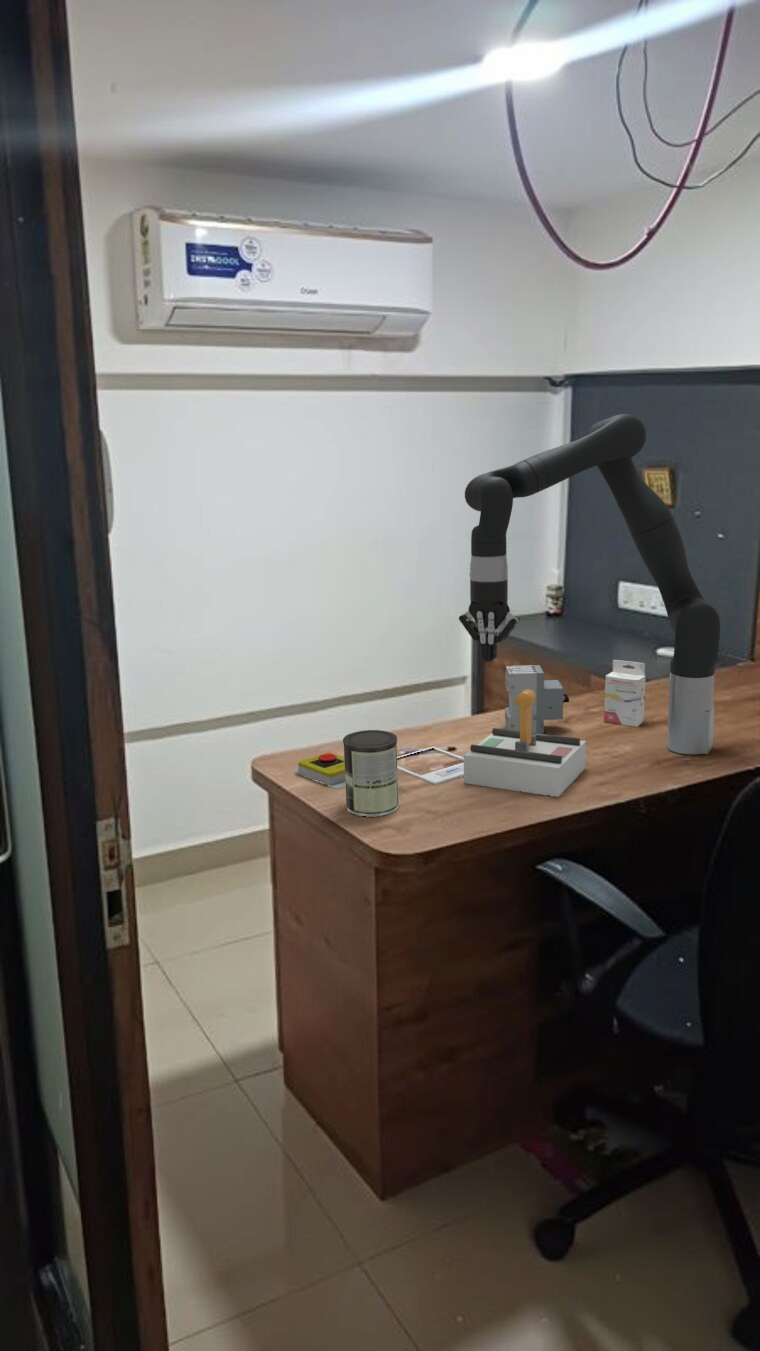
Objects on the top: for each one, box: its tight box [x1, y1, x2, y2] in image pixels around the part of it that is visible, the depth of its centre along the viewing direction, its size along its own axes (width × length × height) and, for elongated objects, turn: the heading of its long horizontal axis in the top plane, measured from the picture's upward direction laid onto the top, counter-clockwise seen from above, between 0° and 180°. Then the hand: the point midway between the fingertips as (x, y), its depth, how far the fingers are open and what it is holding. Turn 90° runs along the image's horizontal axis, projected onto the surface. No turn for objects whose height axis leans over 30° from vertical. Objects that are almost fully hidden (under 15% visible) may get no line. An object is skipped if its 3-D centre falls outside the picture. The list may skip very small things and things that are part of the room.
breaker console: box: [463, 727, 587, 798], centre depth 206 cm, size 20×18×8 cm
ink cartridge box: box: [603, 659, 647, 728], centre depth 238 cm, size 9×5×15 cm, turn 58°
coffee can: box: [342, 729, 400, 818], centre depth 191 cm, size 10×10×14 cm
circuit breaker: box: [504, 664, 570, 734], centre depth 234 cm, size 8×14×15 cm, turn 89°
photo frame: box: [397, 746, 464, 786], centre depth 214 cm, size 15×1×18 cm
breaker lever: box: [515, 689, 536, 744], centre depth 204 cm, size 3×4×11 cm
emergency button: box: [294, 752, 346, 789], centre depth 210 cm, size 9×4×15 cm
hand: (489, 660), depth 204 cm, fingers closed
